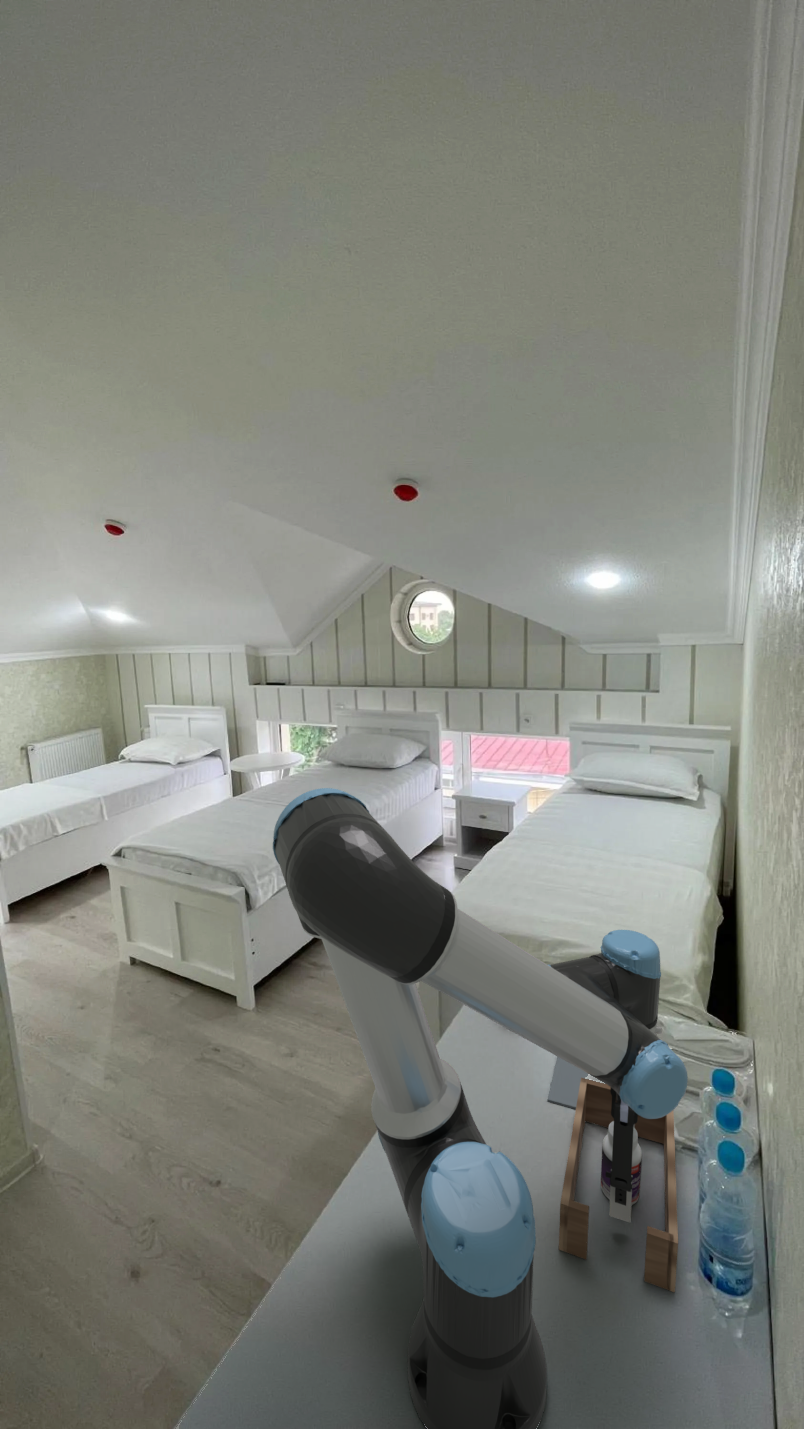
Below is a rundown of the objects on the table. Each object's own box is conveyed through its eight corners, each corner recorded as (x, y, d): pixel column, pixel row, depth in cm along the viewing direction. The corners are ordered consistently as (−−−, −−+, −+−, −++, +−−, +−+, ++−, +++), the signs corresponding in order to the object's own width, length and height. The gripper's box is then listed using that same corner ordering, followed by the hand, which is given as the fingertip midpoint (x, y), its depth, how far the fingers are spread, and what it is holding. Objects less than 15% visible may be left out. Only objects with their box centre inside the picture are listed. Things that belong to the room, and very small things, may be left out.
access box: (674, 1292, 75) (678, 1243, 74) (558, 1249, 81) (560, 1203, 80) (670, 1141, 97) (673, 1101, 96) (579, 1115, 103) (581, 1077, 102)
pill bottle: (627, 1215, 85) (630, 1153, 84) (593, 1189, 89) (595, 1129, 88) (646, 1191, 89) (650, 1132, 87) (612, 1167, 93) (615, 1110, 91)
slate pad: (621, 1122, 101) (621, 1120, 101) (547, 1101, 106) (547, 1099, 106) (624, 1073, 112) (624, 1071, 112) (557, 1056, 117) (557, 1054, 116)
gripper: (656, 1116, 73) (649, 1268, 76) (656, 996, 95) (651, 1117, 99) (590, 1099, 76) (586, 1246, 79) (606, 987, 98) (602, 1104, 102)
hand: (622, 1175), depth 89 cm, fingers open, 13 cm apart
